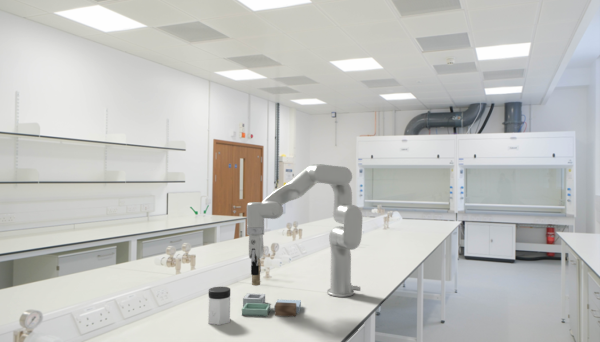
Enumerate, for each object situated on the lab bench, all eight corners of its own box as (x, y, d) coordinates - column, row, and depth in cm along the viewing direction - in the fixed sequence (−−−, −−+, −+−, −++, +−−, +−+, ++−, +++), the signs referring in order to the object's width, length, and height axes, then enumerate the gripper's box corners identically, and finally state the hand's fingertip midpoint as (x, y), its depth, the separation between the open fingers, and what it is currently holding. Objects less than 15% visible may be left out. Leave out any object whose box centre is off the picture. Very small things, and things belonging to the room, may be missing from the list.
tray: (270, 310, 169) (270, 303, 169) (266, 316, 161) (267, 310, 161) (246, 309, 170) (246, 302, 170) (241, 315, 162) (241, 309, 162)
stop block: (296, 313, 166) (296, 303, 166) (295, 316, 162) (295, 306, 162) (276, 312, 166) (276, 302, 167) (275, 315, 163) (275, 305, 163)
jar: (202, 323, 153) (203, 290, 153) (213, 316, 161) (214, 285, 161) (224, 326, 150) (225, 293, 150) (234, 319, 158) (235, 287, 158)
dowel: (260, 283, 179) (260, 255, 179) (259, 285, 175) (259, 257, 175) (252, 283, 179) (252, 255, 179) (251, 285, 175) (250, 257, 175)
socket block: (265, 302, 180) (265, 294, 180) (261, 307, 172) (261, 299, 172) (247, 301, 181) (247, 293, 181) (242, 306, 173) (243, 298, 173)
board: (300, 307, 175) (300, 300, 175) (298, 314, 166) (299, 306, 166) (277, 306, 176) (277, 299, 176) (274, 313, 167) (274, 305, 167)
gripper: (260, 233, 169) (261, 278, 168) (267, 228, 185) (267, 269, 185) (242, 233, 169) (243, 278, 169) (251, 228, 186) (251, 269, 186)
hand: (255, 273), depth 177 cm, fingers closed on dowel, 3 cm apart
